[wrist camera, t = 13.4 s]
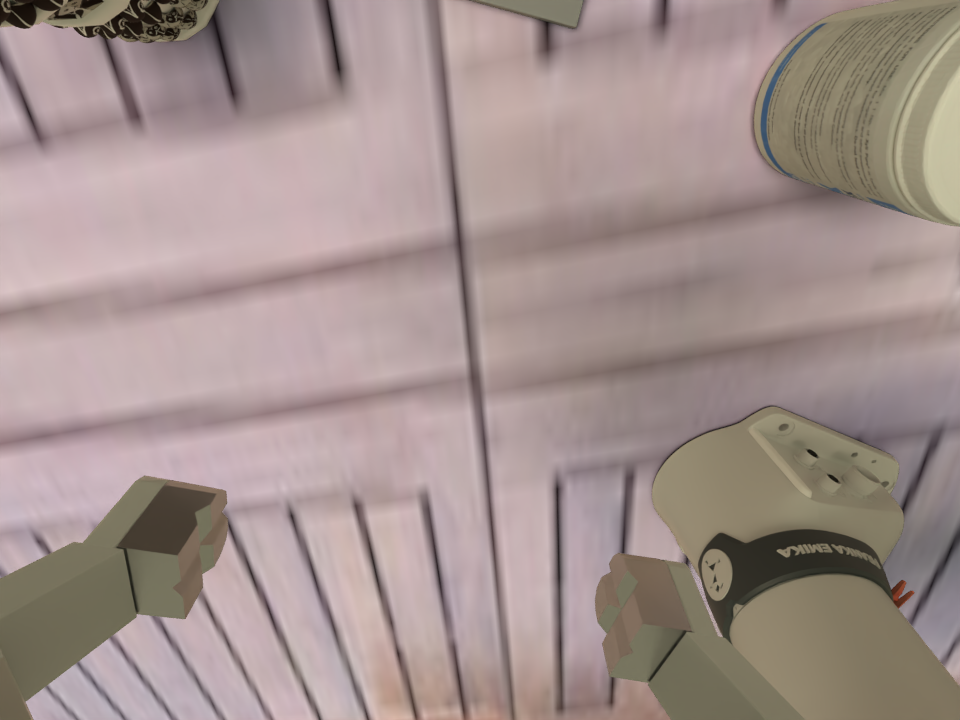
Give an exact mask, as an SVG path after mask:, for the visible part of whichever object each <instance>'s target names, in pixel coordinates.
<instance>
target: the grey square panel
mask: <svg viewBox="0 0 960 720" xmlns="http://www.w3.org/2000/svg"><path fill="white" fill-rule="evenodd" d="M470 1H474V2H477V3H481V4H485V5H488V6H492V7H495V8H499V9H503V10H506V11H510V12H514V13H517V14H521V15H524V16H528V17H532V18H535V19H539V20H543V21H546V22H550V23H553V24H557V25H561V26H564V27H568V28H572V29H574V28H576V26H577V22H578V19H579V15H580V11H581V8H582V4H583V0H470Z"/></svg>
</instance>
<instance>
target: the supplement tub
mask: <svg viewBox="0 0 960 720" xmlns="http://www.w3.org/2000/svg"><path fill="white" fill-rule="evenodd" d="M754 131H755V137H756V141H757V144H758V147H759V149H760V151H761V153H762V155H763V156H764V158H765V159H766V160H767V162H768V163H769V164H770V165H771V166H772V167H773V168H774V169H776V170H777V171H779V172H780V173H782V174H784V175H786V176H789V177H792V178H795V179H797V180H800V181H803V182H806V183H809V184H813V185H816V186H819V187H822V188H826V189H829V190H832V191H835V192H838V193H842V194H845V195H848V196H851V197H854V198H857V199H860V200H864V201H867V202H870V203H873V204H876V205H879V206H883V207H886V208H889V209H892V210H895V211H899V212H902V213H905V214H908V215H911V216H915V217H919V218H922V219H926V220H929V221H933V222H937V223H941V224H945V225H950V226H960V0H897V1H892V2H887V3H881V4H876V5H871V6H866V7H861V8H856V9H852V10H847V11H843V12H839V13H836V14H833V15H831V16H828V17H826V18H824V19H822V20H820V21H819V22H817V23H815V24H814V25H812V26H811V27H809V28H808V29H806V30H805V31H804V32H802V33H801V34H800V35H799V36H798V37H797V38H796V39H794V40H793V41H792V42H791V43H790V44H789V45H788V46H787V47H786V49H785V50H784V51H783V52H782V53H781V54H780V55H779V57H778V58H777V59H776V61H775V62H774V64H773V65H772V67H771V68H770V70H769V71H768V73H767V75H766V77H765V79H764V81H763V83H762V86H761V88H760V91H759V94H758V97H757V101H756V106H755V113H754Z"/></svg>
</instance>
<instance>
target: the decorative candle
mask: <svg viewBox="0 0 960 720" xmlns="http://www.w3.org/2000/svg"><path fill="white" fill-rule="evenodd" d="M218 3H219V0H0V27H10V26H16V27H19V28H23V29H26V28H30V27H32V26H33V25H35V24H40V23H41V22H45V23H48V24H50V25H52V26H54V27H58V28H68V27H73V28H74V29H75V30H76V31H77V32H78V33H79V34H80V35H82V36H84V37H87V38H90V37H94V36H96V35H97V34H99V35H100V36H102V37H103V38H105V39H113V38H115V37H116V36H118V37H119V38H121V39H122V40H124V41H127V42H135V41H138V40H139V41H141V42H143V43H151V42H154V41H156V42H168V41H181V40H187V39H188V38H190V37H191V36H193V35H194V34H196V33H197V32H199V31H200V30H202V29H203V28H205V27H206V26H207V25H208V23H209V21H210V19H211V17H212V15H213V13H214V11H215V9H216V7H217V5H218Z"/></svg>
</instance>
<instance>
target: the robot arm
mask: <svg viewBox="0 0 960 720" xmlns="http://www.w3.org/2000/svg"><path fill="white" fill-rule="evenodd" d="M781 424H783V425H781ZM780 425H781V426H780ZM898 474H899V464H898V462H897V461H896V460H895V459H894V457H893V456H891V455H890V454H888V453H886V452H883V451H881V450H879V449H876V448H874V447H871V446H869V445H867V444H864V443H862V442H860V441H857V440H855V439H852V438H850V437H848V436H845V435H843V434H841V433H838V432H836V431H833V430H831V429H829V428H826V427H824V426H822V425H819V424H817V423H814V422H812V421H810V420H807V419H805V418H803V417H800V416H798V415H795V414H793V413H791V412H788V411H786V410H783V409H781V408H778V407H768V408H765V409H762V410H760V411H758V412H757V413H755V414H753V415H751V416H750V417H748V418H747V419H745V420H743V421H742V422H740V423H738V424H735V425H733V426H730V427H726V428H722V429H719V430H715V431H712V432H709V433H707V434H704V435H702V436H700V437H698V438H696V439H694V440H692V441H690V442H688V443H687V444H685V445H684V446H682V447H681V448H680V449H678V450H677V451H676V452H675V453H674V454H672V455H671V456H670V457H669V458H668V460H667V461H666V462H665V463H664V464H663V466H662V467H661V468H660V470H659V472H658V474H657V476H656V478H655V480H654V484H653V488H652V501H653V505H654V508H655V510H656V512H657V513H658V515H659V516H660V518H661V519H662V520H663V521H664V522H665V524H666V525H667V526H668V527H669V529H670V530H671V532H672V533H673V535H674V536H675V538H676V541H677V543H678V545H679V547H680V549H681V550H682V552H683V553H684V554H686V555H687V557H688V559H689V561H690V562H691V564H692V566H693V567H694V569H695V571H696V573H697V574H698V576H699V578H700V579H701V582H702V585H703V589H704V592H705V596H706V599H707V602H708V605H709V607H710V609H711V612H712V614H713V616H714V619H715V621H716V623H717V626H718V628H719V631H720V633H721V634H722V636H723V637H719V636H718V635H717V632H716V630H715V628H714V625H713V623H712V621H711V618H710V616H709V613H708V611H707V609H706V606H705V604H704V602H703V599H702V597H701V594H700V592H699V590H698V587H697V585H696V583H695V580H694V578H693V576H692V573H691V571H690V569H689V567H688V566H687V565H686V564H685V563H679V562H673V561H667V560H660V559H656V558H649V557H642V556H636V555H629V554H622V553H617V554H616V555H614V556H613V557H612V559H611V561H610V563H609V566H610V570H611V572H610V573H608V574H606V575H604V576H603V577H602V578H601V580H600V582H599V584H598V586H597V590H596V597H595V611H596V616H597V621H598V623H599V625H600V626H601V627H602V628H603V630H604V631H605V632H606V633H607V635H606V637H605V639H604V641H603V643H602V646H603V650H604V655H605V660H606V664H607V669H608V674H609V676H610V677H616V678H622V679H629V680H635V681H641V682H647V683H649V684H648V686H649V687H650V689H651V690H652V692H653V693H654V695H655V696H656V698H657V699H658V701H659V702H660V704H661V705H662V707H663V708H664V710H665V711H666V713H667V714H668V716H669V717H670V719H671V720H960V686H959V685H958V683H957V682H956V681H955V680H954V678H953V677H952V676H951V675H950V673H949V672H948V671H947V670H946V668H945V667H944V666H943V665H942V663H941V662H940V661H939V660H938V658H937V657H936V656H935V655H934V653H933V652H932V651H931V650H930V648H929V647H928V646H927V645H926V643H925V642H924V641H923V640H922V638H921V637H920V636H919V634H918V633H917V632H916V631H915V629H914V628H913V627H912V626H911V624H910V623H909V622H908V621H907V619H906V618H905V617H904V615H903V614H902V613H901V612H900V610H899V608H900V607H901V606H902V605H903V604H904V603H905V602H906V601H907V600H908V599H909V598H910V597H911V596H912V595H913V594H914V591H910V592H908V593H907V594H905V595H904V596H902V597H901V598H900V599H899V596H900V595H901V594H902V592H903V590H904V587H905V585H906V582H905V581H904V580H902V581H900V582H899V583H898V584H897V585H896V586H895V587H894V588H893V589H892V590H891V588H890V585H889V582H888V580H887V577H886V574H885V572H884V569H883V567H882V565H883V563H884V562H885V560H886V559H887V557H888V556H889V554H890V553H891V551H892V550H893V548H894V546H895V545H896V543H897V542H898V540H899V538H900V536H901V534H902V531H903V527H904V515H903V512H902V510H901V508H900V506H899V505H898V503H897V502H896V501H895V500H894V498H893V497H892V496H891V495H890V494H891V492H892V490H893V488H894V486H895V484H896V481H897V478H898ZM226 504H227V494H226V491H225V490H222V489H216V488H211V487H206V486H200V485H195V484H190V483H184V482H179V481H174V480H167V479H161V478H156V477H150V476H143V477H142V478H140V479H138V480H137V481H135V482H134V484H133V485H132V486H131V487H130V488H129V489H128V491H127V492H126V493H125V494H124V495H123V496H122V498H121V499H120V500H119V501H118V502H117V503H116V505H115V506H114V507H113V508H112V509H111V510H110V512H109V513H108V514H107V515H106V516H105V517H104V519H103V520H102V521H101V522H100V523H99V524H98V526H97V527H96V528H95V529H94V530H93V531H92V533H91V534H90V535H89V536H88V537H87V538H86V540H85V541H84V542H83V543H78V542H73V543H71V544H69V545H67V546H65V547H63V548H61V549H59V550H57V551H55V552H53V553H51V554H49V555H47V556H45V557H43V558H41V559H39V560H37V561H35V562H33V563H31V564H29V565H27V566H25V567H23V568H21V569H19V570H17V571H15V572H13V573H11V574H9V575H7V576H5V577H3V578H1V579H0V720H33V717H32V715H31V713H30V711H29V709H28V707H27V704H26V701H27V700H28V699H30V698H31V697H32V696H34V695H35V694H36V693H38V692H39V691H40V690H41V689H43V688H44V687H45V686H47V685H48V684H49V683H51V682H52V681H53V680H55V679H56V678H57V677H59V676H60V675H61V674H62V673H64V672H65V671H66V670H68V669H69V668H70V667H72V666H73V665H74V664H76V663H77V662H78V661H80V660H81V659H82V658H83V657H85V656H86V655H87V654H89V653H90V652H91V651H93V650H94V649H95V648H97V647H98V646H99V645H101V644H102V643H103V642H104V641H106V640H107V639H108V638H110V637H111V636H112V635H114V634H115V633H116V632H118V631H119V630H120V629H122V628H123V627H124V626H125V625H127V624H128V623H129V622H131V621H132V620H133V619H135V618H136V617H137V615H136V614H141V615H150V616H160V617H169V618H179V619H186V617H187V615H188V613H189V612H190V610H191V608H192V606H193V604H194V603H195V601H196V599H197V597H198V595H199V594H200V592H201V590H202V588H203V578H202V574H203V573H205V572H206V571H208V570H210V569H211V568H213V567H214V566H215V564H216V562H217V560H218V558H219V557H220V555H221V552H222V550H223V547H224V544H225V541H226V538H227V531H228V518H227V517H226V516H225V515H224V514H223V513H222V511H223V509H224V508H225V506H226Z"/></svg>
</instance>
